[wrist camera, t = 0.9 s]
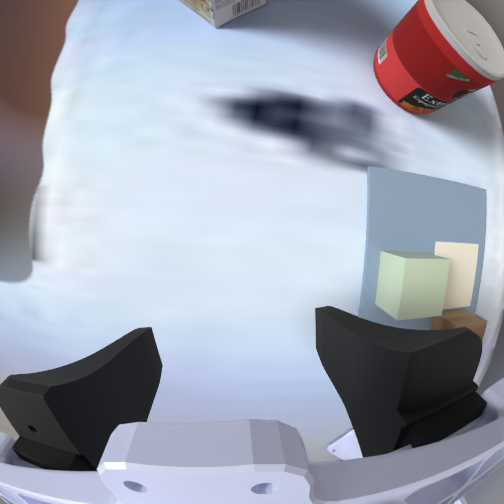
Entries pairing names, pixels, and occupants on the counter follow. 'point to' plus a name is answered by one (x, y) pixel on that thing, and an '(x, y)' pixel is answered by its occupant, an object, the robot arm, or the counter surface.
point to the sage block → (411, 284)
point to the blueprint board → (424, 236)
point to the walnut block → (459, 321)
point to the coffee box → (222, 9)
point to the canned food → (438, 56)
